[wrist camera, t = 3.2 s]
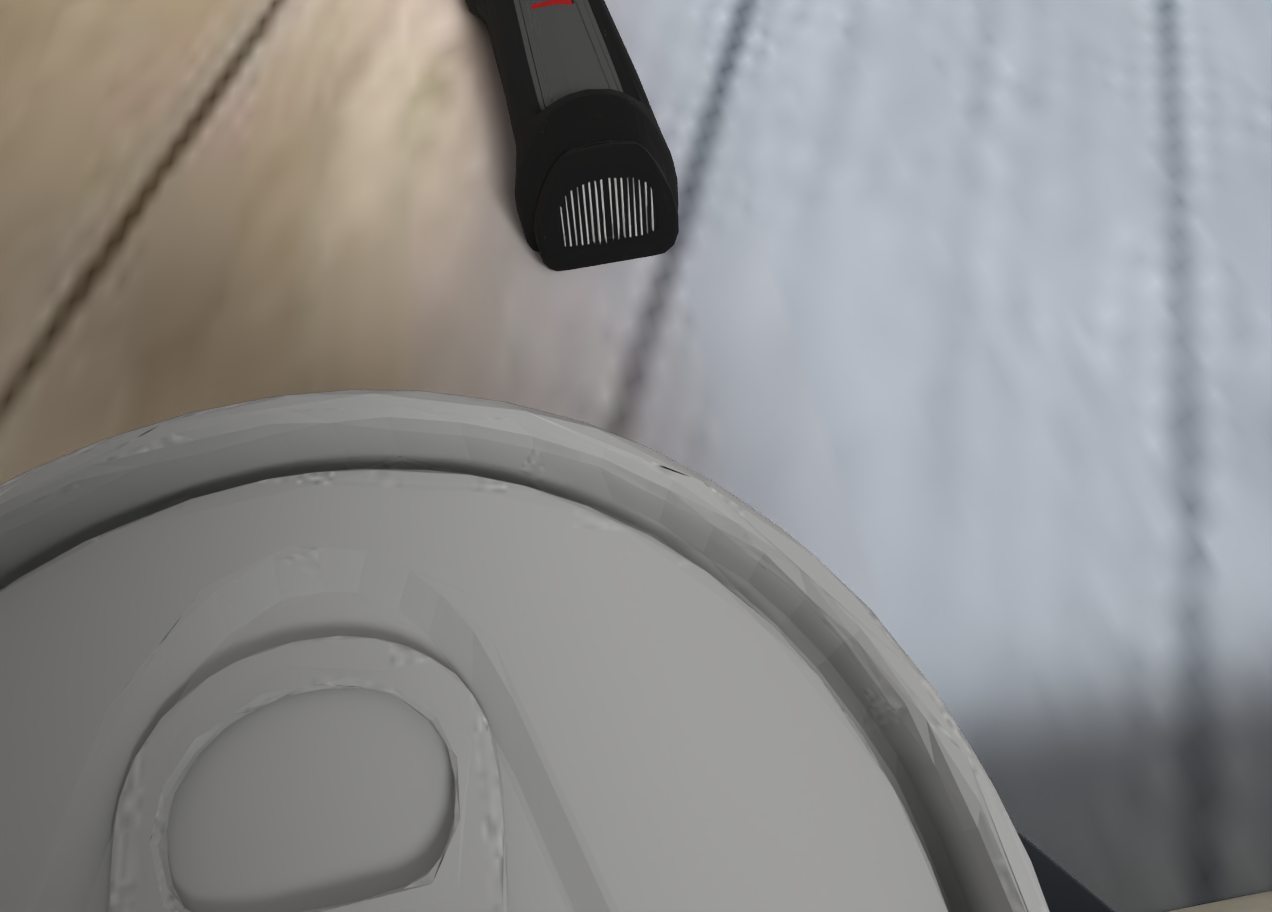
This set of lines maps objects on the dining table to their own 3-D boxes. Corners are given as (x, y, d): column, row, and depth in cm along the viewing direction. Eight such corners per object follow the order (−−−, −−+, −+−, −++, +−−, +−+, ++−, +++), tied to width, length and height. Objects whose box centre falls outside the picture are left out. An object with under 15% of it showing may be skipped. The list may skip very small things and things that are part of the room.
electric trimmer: (552, -122, 27) (548, -242, 24) (688, 257, 20) (704, 154, 17) (432, -110, 26) (413, -231, 23) (530, 284, 20) (520, 182, 17)
